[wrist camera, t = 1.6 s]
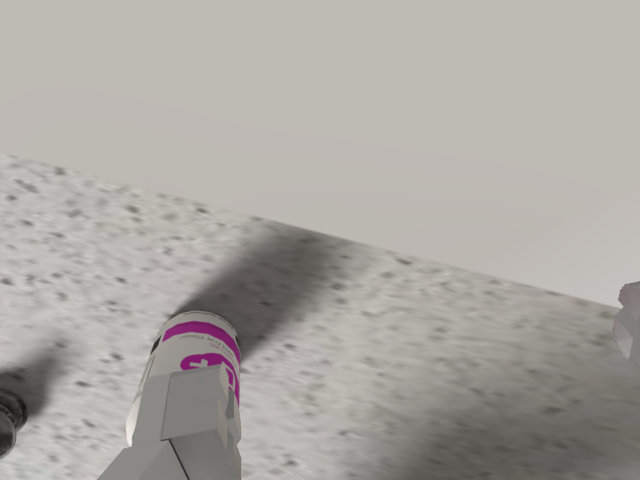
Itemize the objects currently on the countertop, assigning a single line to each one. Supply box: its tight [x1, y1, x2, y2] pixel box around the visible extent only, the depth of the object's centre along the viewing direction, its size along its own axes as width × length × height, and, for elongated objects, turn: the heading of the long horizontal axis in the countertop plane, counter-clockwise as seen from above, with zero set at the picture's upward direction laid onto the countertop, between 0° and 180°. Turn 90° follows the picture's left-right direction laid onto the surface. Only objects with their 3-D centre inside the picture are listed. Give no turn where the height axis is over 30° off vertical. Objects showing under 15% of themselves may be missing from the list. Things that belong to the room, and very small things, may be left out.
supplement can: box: [126, 310, 240, 447], centre depth 46 cm, size 8×8×15 cm
